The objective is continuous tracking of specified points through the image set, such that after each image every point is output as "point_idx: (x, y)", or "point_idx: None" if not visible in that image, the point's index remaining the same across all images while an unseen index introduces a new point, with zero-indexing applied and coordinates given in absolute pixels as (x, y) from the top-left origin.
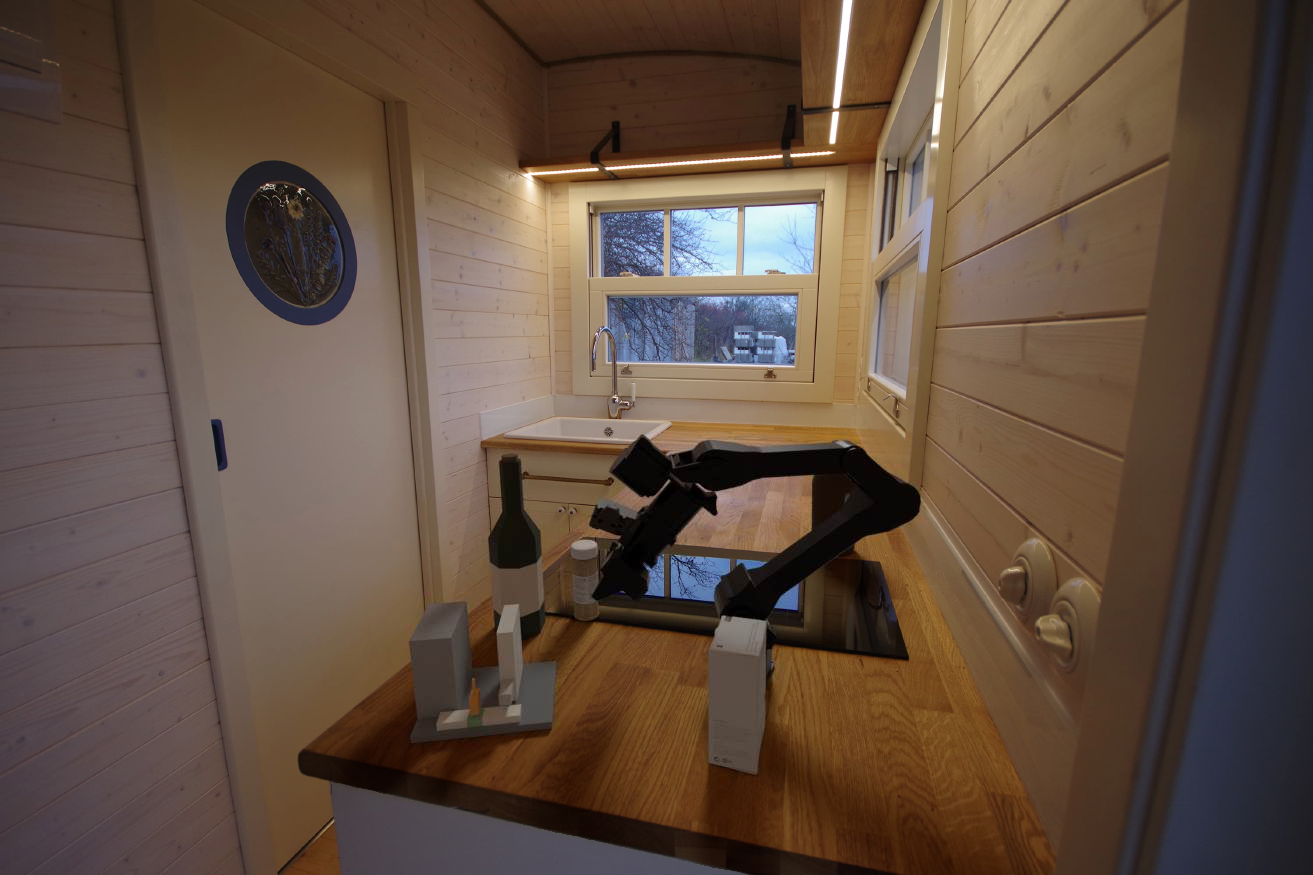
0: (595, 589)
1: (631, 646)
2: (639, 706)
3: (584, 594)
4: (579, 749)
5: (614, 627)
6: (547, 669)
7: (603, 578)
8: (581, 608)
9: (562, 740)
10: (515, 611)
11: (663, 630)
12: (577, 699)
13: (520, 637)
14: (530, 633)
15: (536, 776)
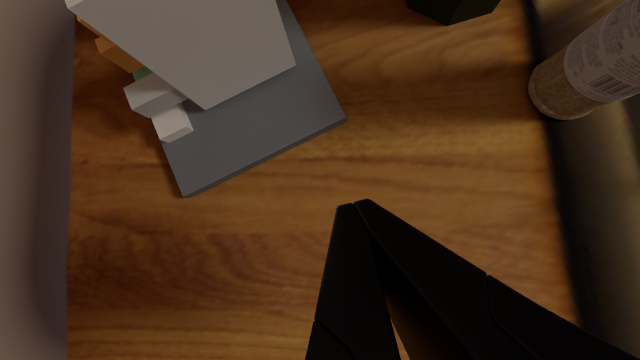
0: (332, 238)
1: (472, 250)
2: (285, 335)
3: (594, 61)
4: (160, 264)
5: (534, 179)
6: (313, 114)
7: (311, 353)
8: (553, 74)
9: (171, 227)
10: None
11: (572, 309)
12: (269, 207)
13: (272, 18)
14: (427, 9)
15: (98, 222)
